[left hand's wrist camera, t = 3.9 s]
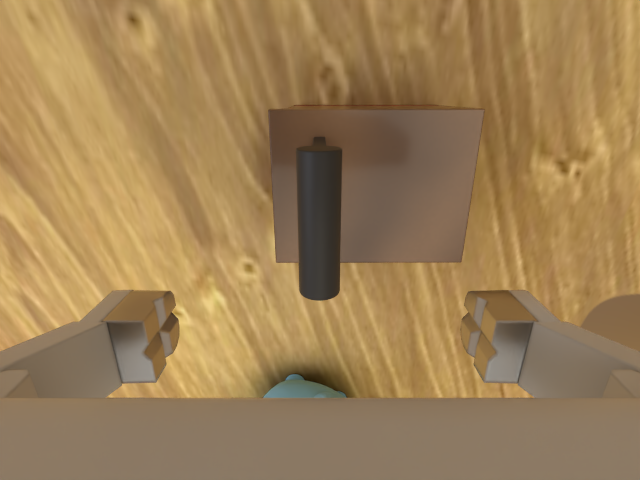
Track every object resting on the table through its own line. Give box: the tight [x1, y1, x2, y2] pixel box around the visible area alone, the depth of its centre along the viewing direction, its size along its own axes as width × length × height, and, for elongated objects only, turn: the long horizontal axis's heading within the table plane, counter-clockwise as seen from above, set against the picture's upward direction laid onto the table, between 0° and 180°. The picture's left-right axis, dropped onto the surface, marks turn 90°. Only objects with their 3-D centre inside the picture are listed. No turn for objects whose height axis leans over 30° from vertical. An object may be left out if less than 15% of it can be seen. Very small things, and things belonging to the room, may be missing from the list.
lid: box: [268, 108, 485, 300], centre depth 20 cm, size 13×10×8 cm
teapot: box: [263, 374, 346, 398], centre depth 37 cm, size 13×14×11 cm
